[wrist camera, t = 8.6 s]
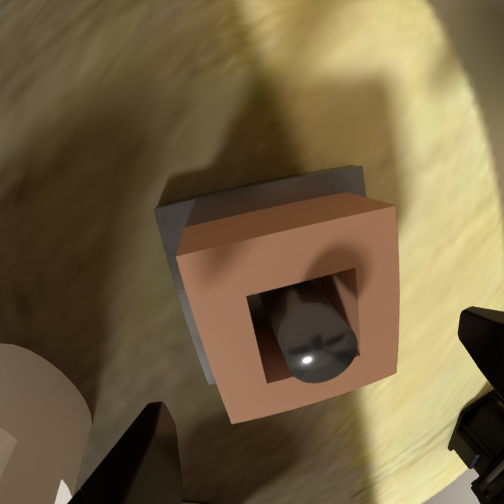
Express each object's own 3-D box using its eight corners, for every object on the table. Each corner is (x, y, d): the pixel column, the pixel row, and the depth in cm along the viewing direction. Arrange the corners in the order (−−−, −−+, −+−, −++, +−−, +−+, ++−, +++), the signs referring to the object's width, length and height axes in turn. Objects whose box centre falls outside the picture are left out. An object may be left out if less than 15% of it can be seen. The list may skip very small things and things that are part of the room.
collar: (345, 192, 13) (395, 206, 10) (358, 328, 15) (396, 373, 12) (184, 227, 13) (175, 256, 9) (224, 366, 15) (231, 424, 11)
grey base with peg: (352, 165, 14) (444, 175, 8) (366, 330, 17) (429, 401, 11) (157, 205, 13) (119, 243, 7) (207, 373, 16) (214, 470, 10)
